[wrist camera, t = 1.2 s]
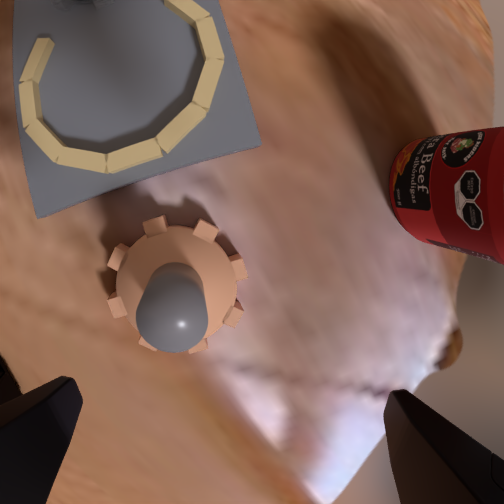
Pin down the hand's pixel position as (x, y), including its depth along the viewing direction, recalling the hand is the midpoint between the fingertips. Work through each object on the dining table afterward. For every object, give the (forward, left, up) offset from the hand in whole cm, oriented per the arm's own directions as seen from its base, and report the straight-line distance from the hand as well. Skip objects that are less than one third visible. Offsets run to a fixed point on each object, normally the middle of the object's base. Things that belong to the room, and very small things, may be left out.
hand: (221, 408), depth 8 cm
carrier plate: (-1, +17, -12) cm, 21 cm away
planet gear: (-1, +1, -12) cm, 12 cm away
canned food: (+18, +1, -12) cm, 22 cm away
